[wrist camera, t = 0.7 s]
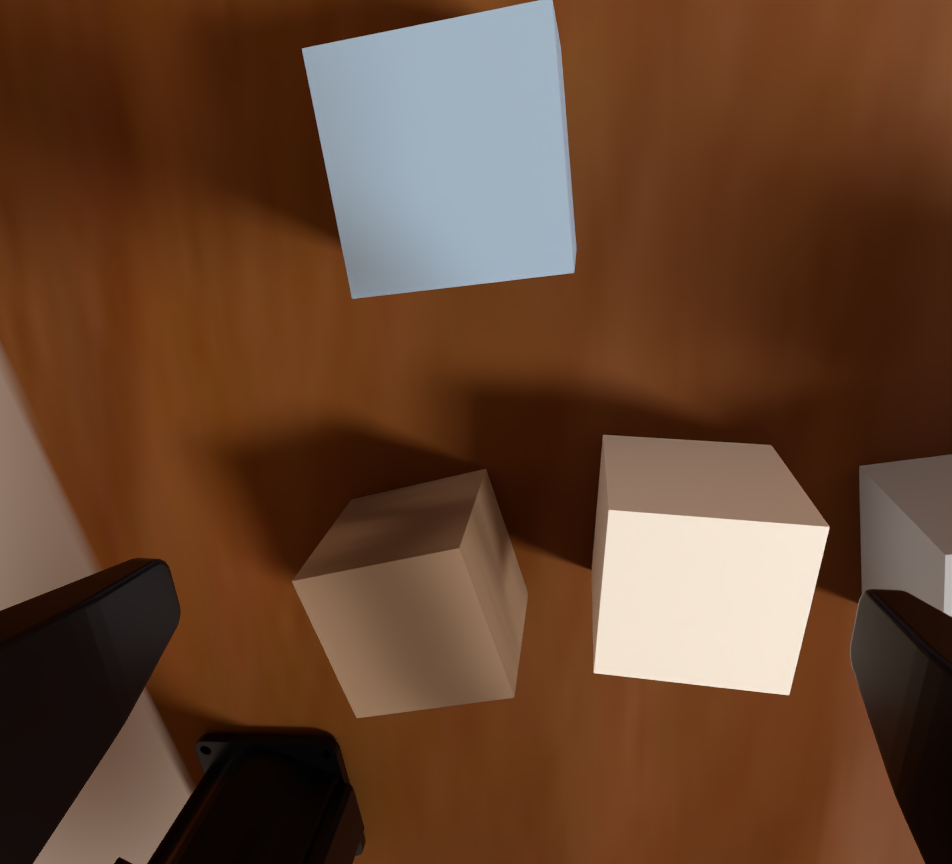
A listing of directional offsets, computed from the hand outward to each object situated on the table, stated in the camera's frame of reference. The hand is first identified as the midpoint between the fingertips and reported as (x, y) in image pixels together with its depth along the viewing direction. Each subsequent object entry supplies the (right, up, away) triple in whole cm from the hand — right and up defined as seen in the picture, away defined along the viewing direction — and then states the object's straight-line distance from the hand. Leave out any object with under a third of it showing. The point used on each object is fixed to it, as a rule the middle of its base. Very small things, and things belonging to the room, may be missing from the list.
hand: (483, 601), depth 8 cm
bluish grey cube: (0, +10, +9) cm, 13 cm away
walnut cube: (-1, -2, +14) cm, 14 cm away
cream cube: (+6, 0, +12) cm, 14 cm away
